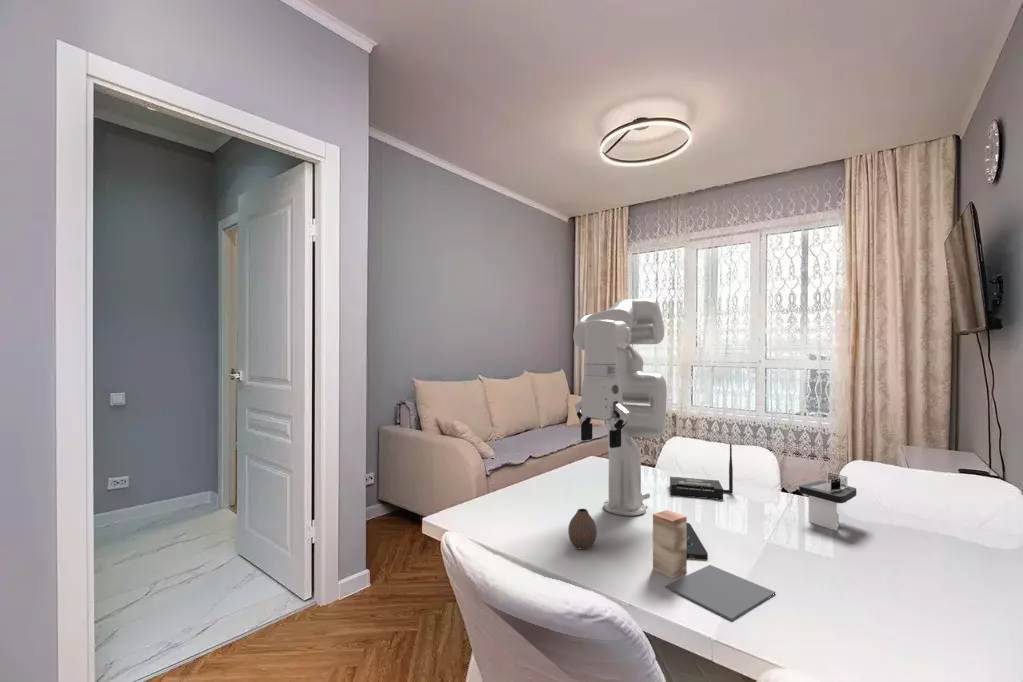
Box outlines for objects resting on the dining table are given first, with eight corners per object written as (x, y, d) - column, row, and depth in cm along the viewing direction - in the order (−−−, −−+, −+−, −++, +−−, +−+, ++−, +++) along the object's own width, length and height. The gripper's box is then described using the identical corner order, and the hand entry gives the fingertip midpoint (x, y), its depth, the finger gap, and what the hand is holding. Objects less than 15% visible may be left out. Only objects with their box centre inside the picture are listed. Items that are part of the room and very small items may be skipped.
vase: (598, 542, 115) (598, 507, 115) (594, 554, 109) (594, 516, 109) (571, 538, 117) (571, 504, 118) (565, 549, 111) (565, 513, 111)
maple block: (667, 563, 104) (667, 509, 104) (686, 571, 100) (686, 516, 100) (652, 569, 101) (652, 514, 102) (672, 578, 97) (672, 521, 97)
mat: (710, 566, 103) (710, 564, 103) (775, 594, 91) (775, 592, 91) (665, 587, 93) (665, 585, 93) (731, 620, 82) (731, 618, 82)
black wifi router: (671, 497, 152) (671, 445, 152) (669, 486, 165) (669, 438, 166) (737, 504, 146) (737, 449, 146) (730, 491, 159) (730, 441, 160)
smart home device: (671, 551, 107) (658, 520, 127) (671, 559, 107) (658, 526, 127) (709, 554, 106) (690, 522, 126) (709, 562, 106) (690, 528, 126)
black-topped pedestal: (857, 552, 111) (856, 497, 111) (755, 517, 134) (755, 471, 134) (913, 532, 124) (912, 482, 124) (811, 503, 147) (811, 461, 147)
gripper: (639, 372, 104) (639, 448, 104) (587, 369, 119) (587, 436, 119) (615, 373, 100) (615, 452, 100) (565, 370, 115) (565, 439, 115)
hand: (600, 443), depth 109 cm, fingers open, 9 cm apart
